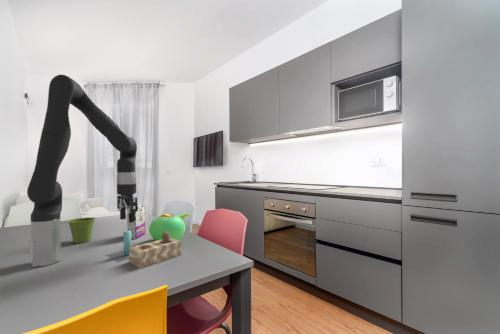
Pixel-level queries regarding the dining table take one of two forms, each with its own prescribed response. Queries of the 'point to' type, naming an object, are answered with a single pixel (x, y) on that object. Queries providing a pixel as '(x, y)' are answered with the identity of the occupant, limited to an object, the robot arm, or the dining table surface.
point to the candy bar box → (137, 223)
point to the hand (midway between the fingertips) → (127, 220)
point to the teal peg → (126, 242)
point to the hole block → (154, 252)
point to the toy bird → (168, 226)
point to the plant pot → (81, 229)
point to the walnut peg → (165, 237)
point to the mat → (118, 256)
